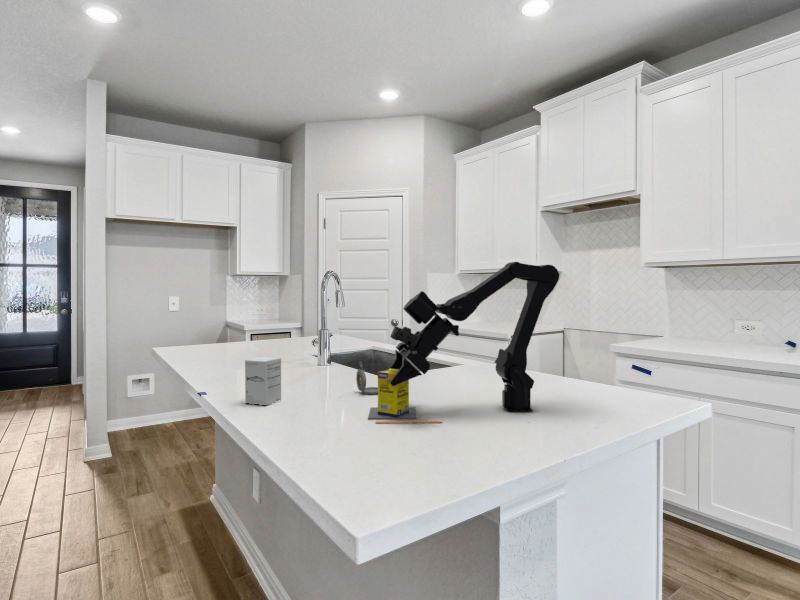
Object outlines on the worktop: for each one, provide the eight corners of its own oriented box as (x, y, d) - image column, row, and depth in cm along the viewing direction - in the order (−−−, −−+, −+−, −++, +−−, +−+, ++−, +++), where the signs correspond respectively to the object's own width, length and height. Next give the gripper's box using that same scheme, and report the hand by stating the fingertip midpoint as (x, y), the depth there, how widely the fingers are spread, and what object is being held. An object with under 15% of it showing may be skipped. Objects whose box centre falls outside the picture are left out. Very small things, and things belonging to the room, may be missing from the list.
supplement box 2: (397, 418, 117) (396, 373, 117) (377, 414, 120) (376, 371, 120) (409, 412, 122) (409, 370, 122) (390, 409, 125) (389, 368, 125)
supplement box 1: (244, 404, 134) (243, 359, 133) (261, 398, 140) (260, 355, 140) (266, 406, 131) (265, 361, 130) (282, 400, 138) (281, 357, 137)
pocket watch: (387, 391, 148) (386, 359, 148) (371, 397, 141) (370, 363, 140) (365, 388, 152) (365, 357, 152) (349, 394, 145) (349, 361, 145)
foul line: (441, 421, 115) (441, 420, 115) (442, 423, 114) (442, 421, 114) (375, 422, 115) (375, 421, 115) (375, 423, 114) (375, 422, 114)
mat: (415, 408, 127) (415, 407, 127) (416, 419, 117) (416, 417, 117) (370, 408, 127) (370, 407, 127) (368, 419, 117) (368, 417, 117)
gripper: (403, 312, 131) (363, 354, 129) (415, 317, 112) (369, 365, 111) (431, 340, 132) (392, 381, 131) (448, 349, 114) (403, 397, 112)
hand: (389, 381), depth 121 cm, fingers open, 9 cm apart
